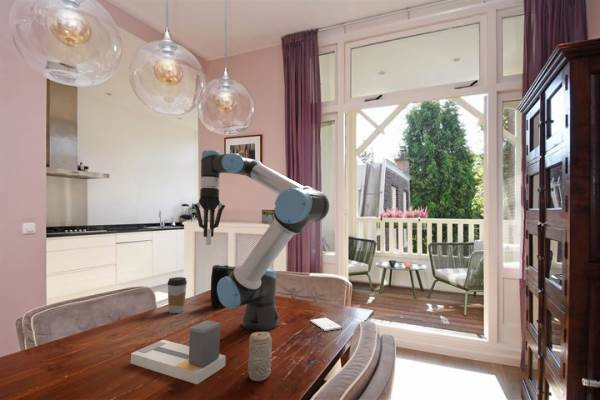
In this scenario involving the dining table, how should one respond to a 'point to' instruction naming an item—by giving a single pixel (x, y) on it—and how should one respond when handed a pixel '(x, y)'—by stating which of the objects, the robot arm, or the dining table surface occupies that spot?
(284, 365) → the dining table surface
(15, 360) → the dining table surface
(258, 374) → the carving
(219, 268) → the portable speaker
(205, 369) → the switch panel
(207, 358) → the switch tab
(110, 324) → the dining table surface
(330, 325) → the external hard drive
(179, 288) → the coffee cup
